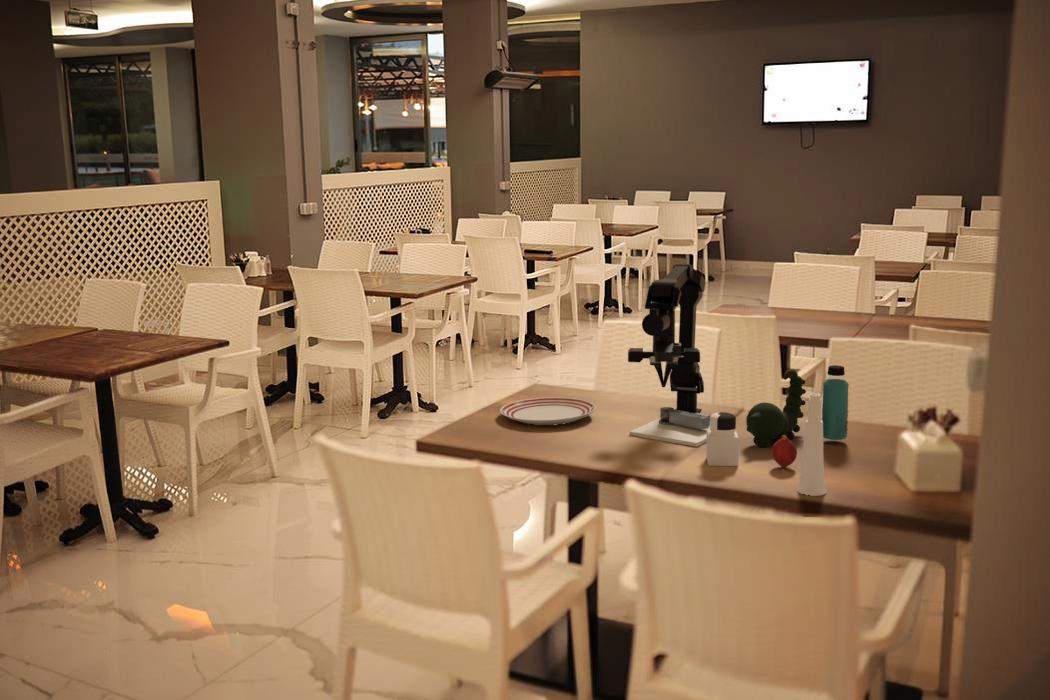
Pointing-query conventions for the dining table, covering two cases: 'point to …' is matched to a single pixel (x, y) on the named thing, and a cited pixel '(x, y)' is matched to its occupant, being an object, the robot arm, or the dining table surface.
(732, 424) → the medicine bottle
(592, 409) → the dinner plate
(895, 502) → the dining table surface
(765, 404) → the toy figurine
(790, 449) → the onion
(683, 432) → the door board
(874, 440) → the dining table surface
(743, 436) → the dining table surface
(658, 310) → the robot arm
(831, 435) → the beverage bottle
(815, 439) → the cosmetic bottle
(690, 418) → the bar
